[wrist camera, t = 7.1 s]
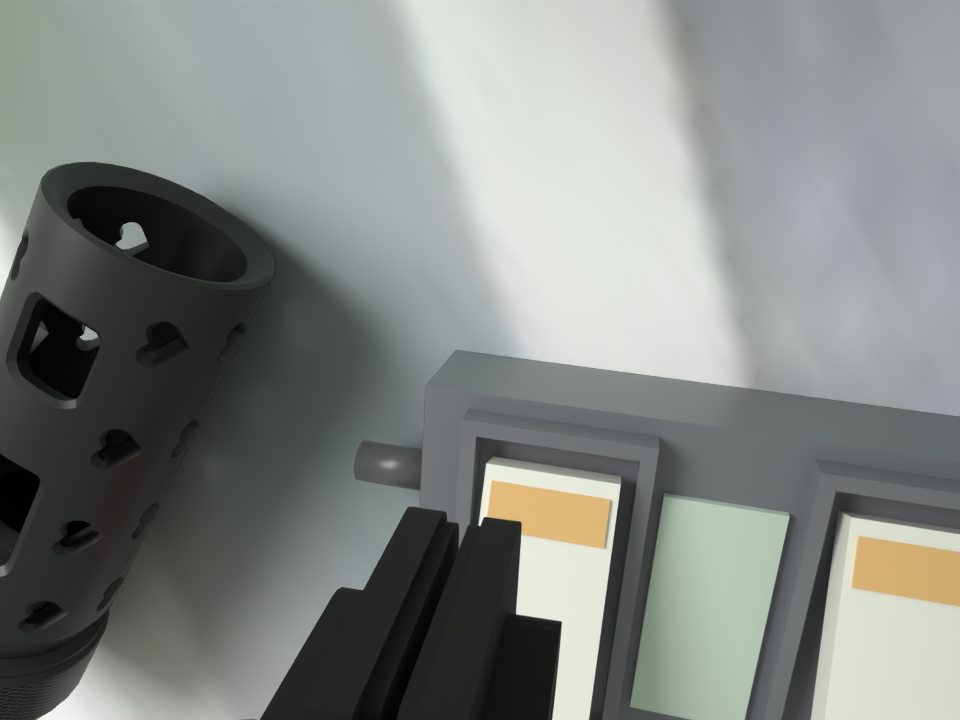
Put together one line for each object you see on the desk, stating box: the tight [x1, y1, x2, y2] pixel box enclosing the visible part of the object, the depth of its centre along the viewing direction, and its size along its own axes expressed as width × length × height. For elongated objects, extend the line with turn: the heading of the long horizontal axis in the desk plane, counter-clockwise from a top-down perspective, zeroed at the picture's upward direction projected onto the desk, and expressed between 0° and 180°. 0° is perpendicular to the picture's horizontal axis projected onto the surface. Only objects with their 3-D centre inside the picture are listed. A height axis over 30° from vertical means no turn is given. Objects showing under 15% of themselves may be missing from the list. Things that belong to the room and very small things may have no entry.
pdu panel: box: [354, 350, 960, 720], centre depth 33 cm, size 16×28×6 cm, turn 86°
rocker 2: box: [811, 510, 960, 720], centre depth 27 cm, size 12×5×2 cm, turn 176°
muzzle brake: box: [0, 162, 275, 720], centre depth 36 cm, size 10×28×10 cm, turn 149°
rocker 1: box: [479, 456, 621, 720], centre depth 30 cm, size 12×5×2 cm, turn 176°
